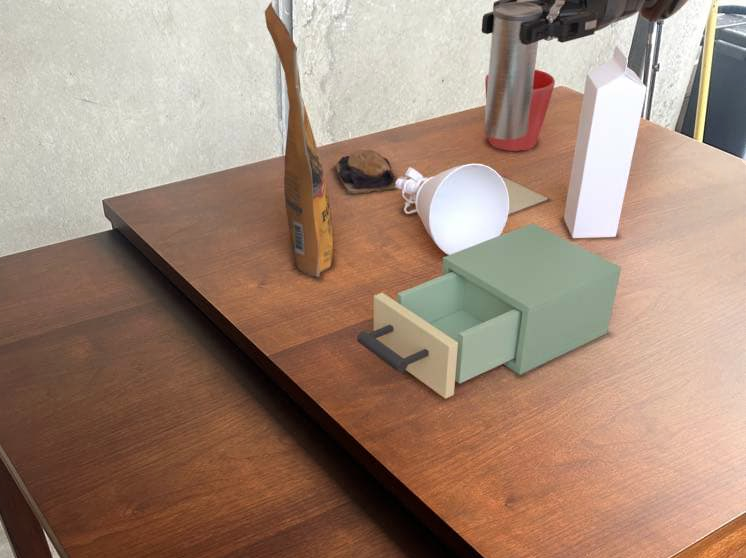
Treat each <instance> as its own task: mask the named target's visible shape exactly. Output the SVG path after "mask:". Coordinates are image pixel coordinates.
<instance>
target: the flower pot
mask: <svg viewBox="0 0 746 558" xmlns="http://www.w3.org/2000/svg"><path fill="white" fill-rule="evenodd" d="M484 79H485V81H484V83H485V85H484V86H485V99H486V98H487V86H488V74H487V75H486V76H485V78H484ZM555 83H556V81H555V78H554V77H553V75H551V74H549V73H548V72H545V71H543V70H539V69H535V72H534V81H533V89H532V98H531V106H530V114H529V123H528V131H527V134H526V135H525V136H523V137H521V138H518V139H511V140H502V139H495V138H492V137H489V136H487V137H488V143H489V144H490V145H491V146H492V147H494V148H496V149H499V150H503V151H510V152H520V151H527V150H530V149H532V148H533V147H536V145H537V143H538V139H539V136H540V134H541V130H542V127H543V124H544V121H545V119H546V115H547V112H548V108H549V105H550V101H551V98H552V94H553V92H554V88H555V85H556V84H555Z"/></svg>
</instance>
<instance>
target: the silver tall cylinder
mask: <svg viewBox="0 0 746 558" xmlns="http://www.w3.org/2000/svg"><path fill="white" fill-rule="evenodd" d="M492 12H493V27H492V33H491V40H490V51H489V63H488V73H487V75H488V86H487V98H486V97H485V111H484V123H483V133H484V134H485V135H486V136H487V137H488V136H489V137H492V138H495V139H502V140H511V139H518V138H521V137H523V136H525V135H526V134H527V131H528V123H529V114H530V106H531V98H532V89H533V81H534V72H535V70H536V63H537V53H538V48H539V47H538V46H539V41H537V42H534V43H531V44H528V45H525V44H522V43H521V35H522V28H523V26H524V24H527V23H530V22H533V21H536V20H539V19H541V16H542V12H543V9H542V7H541V6H539V5H536V4H532V3H525V2H510V3H503V4H499V5H497V6H495V7H494V8H493V7H492ZM489 137H488V138H489Z"/></svg>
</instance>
